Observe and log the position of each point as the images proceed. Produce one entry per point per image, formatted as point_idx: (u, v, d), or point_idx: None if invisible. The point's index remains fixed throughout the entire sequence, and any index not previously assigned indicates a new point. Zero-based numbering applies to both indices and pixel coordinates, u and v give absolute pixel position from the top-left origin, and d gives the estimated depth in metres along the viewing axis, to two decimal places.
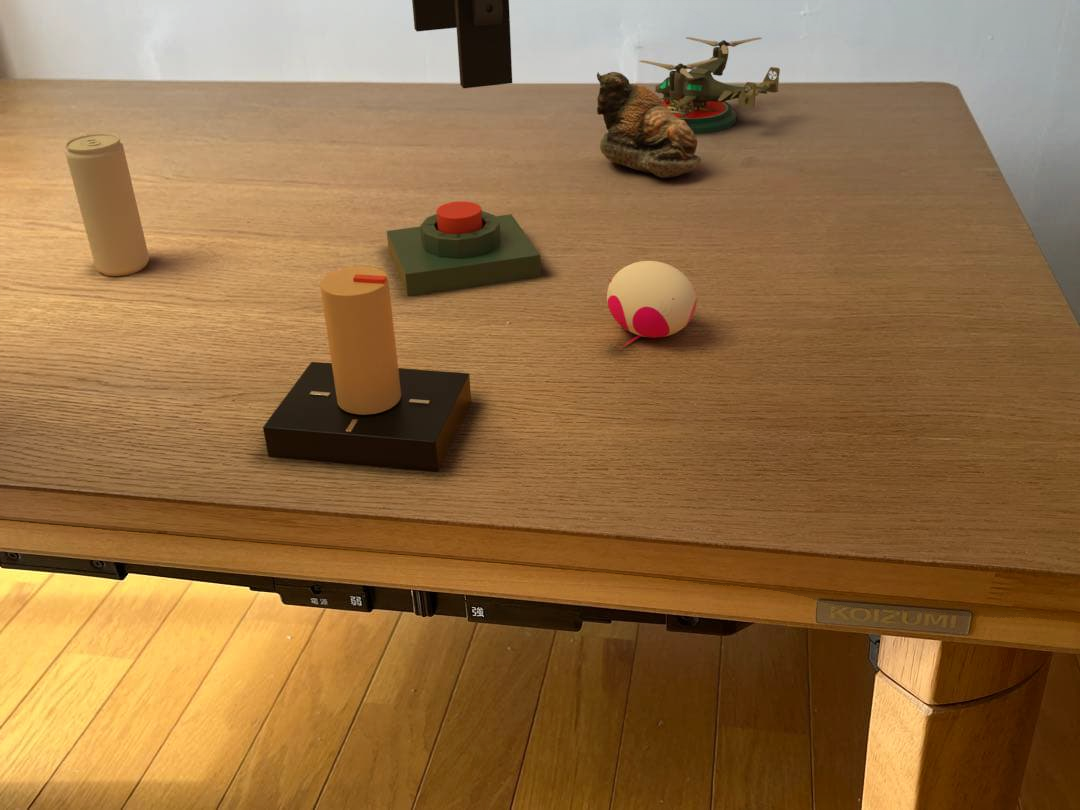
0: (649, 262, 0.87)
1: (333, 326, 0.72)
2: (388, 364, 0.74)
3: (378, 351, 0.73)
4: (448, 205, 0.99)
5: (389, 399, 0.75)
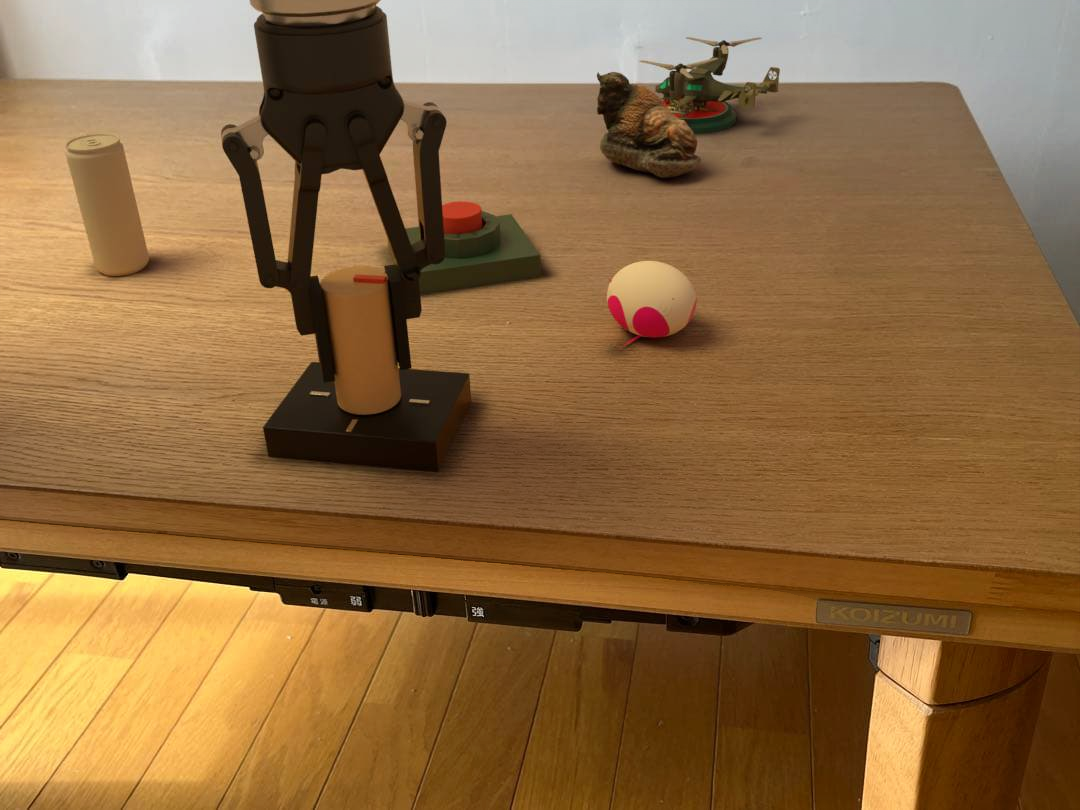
0: (649, 262, 0.87)
1: (333, 326, 0.72)
2: (388, 364, 0.74)
3: (378, 351, 0.73)
4: (448, 205, 0.99)
5: (389, 399, 0.75)
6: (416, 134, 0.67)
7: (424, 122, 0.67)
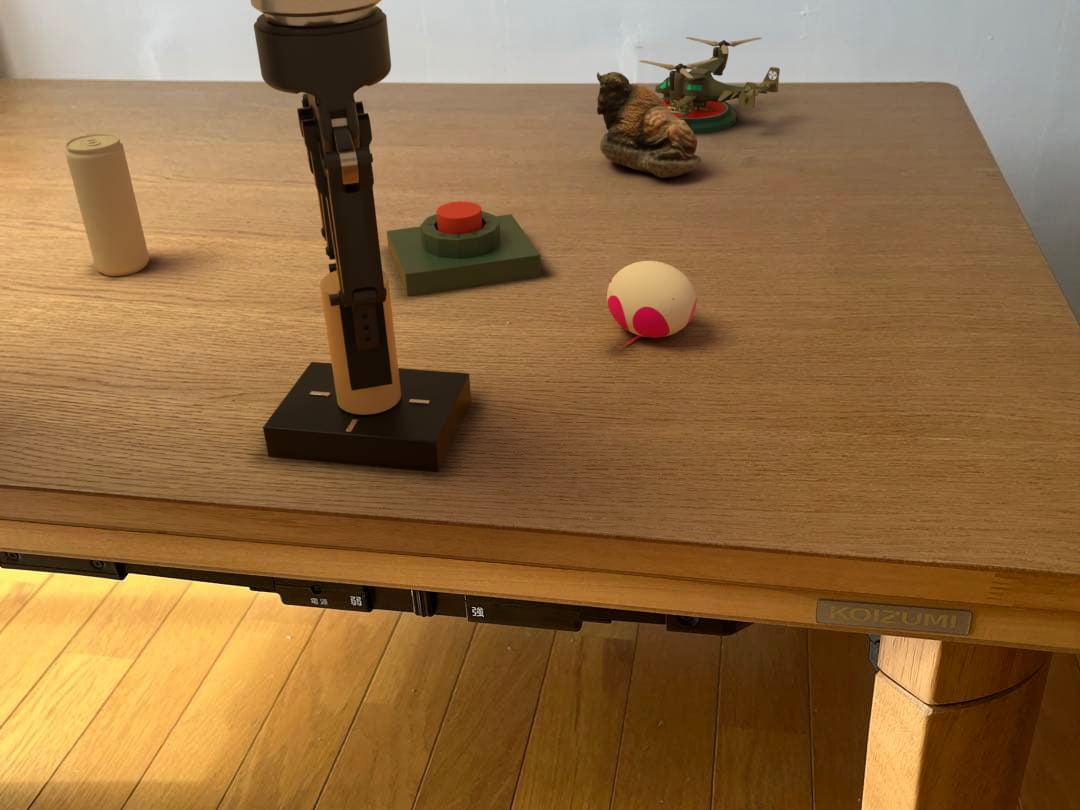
0: (649, 262, 0.87)
1: None
2: None
3: None
4: (448, 205, 0.99)
5: None
6: None
7: None
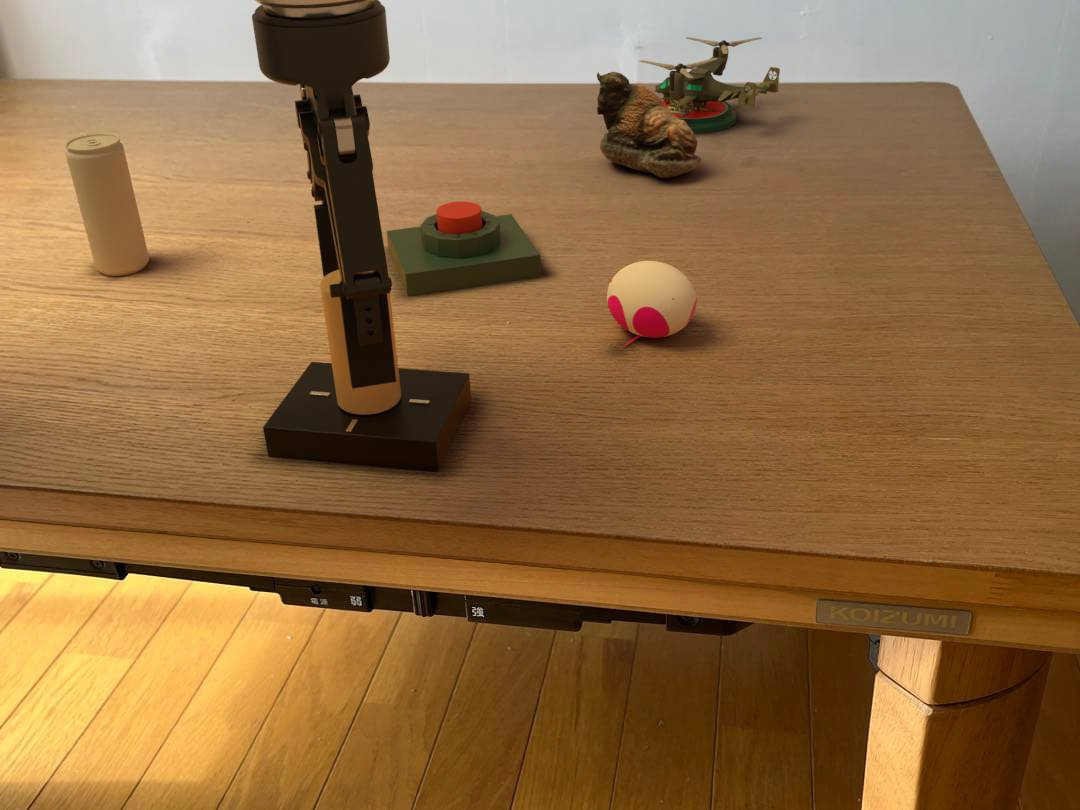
0: (649, 262, 0.87)
1: None
2: None
3: None
4: (448, 205, 0.99)
5: None
6: None
7: None
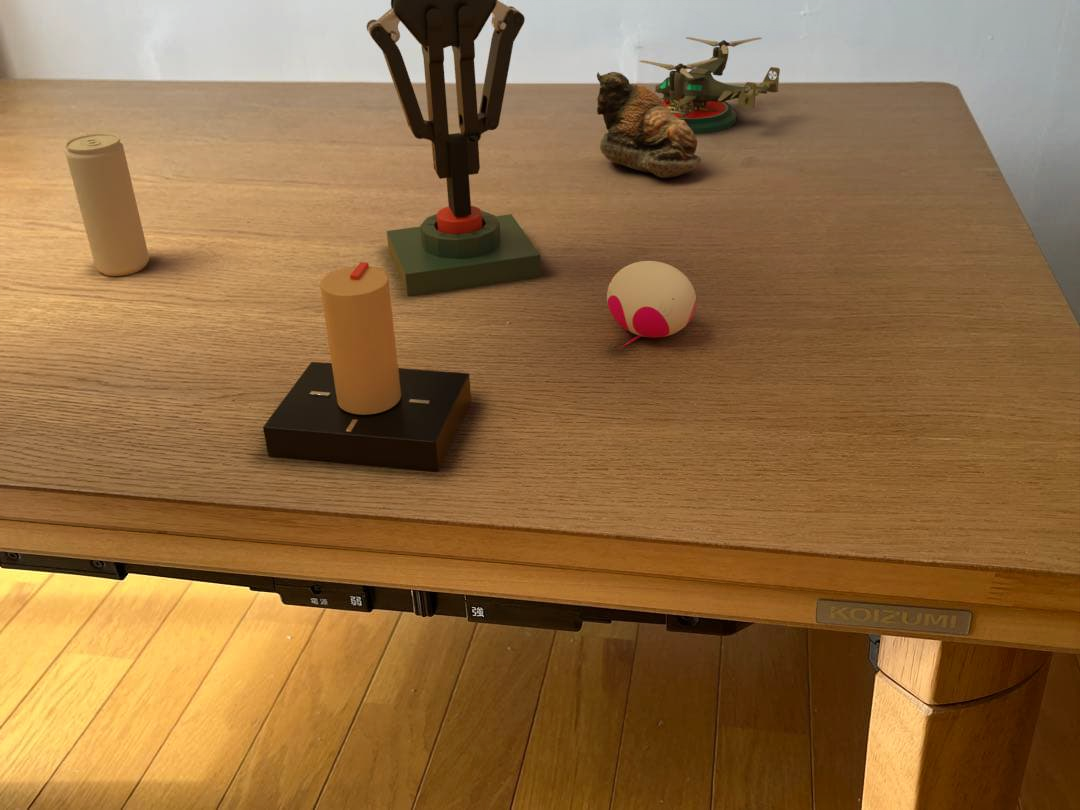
0: (649, 262, 0.87)
1: (381, 323, 0.72)
2: None
3: None
4: (449, 208, 0.99)
5: None
6: (501, 24, 0.90)
7: (508, 18, 0.90)
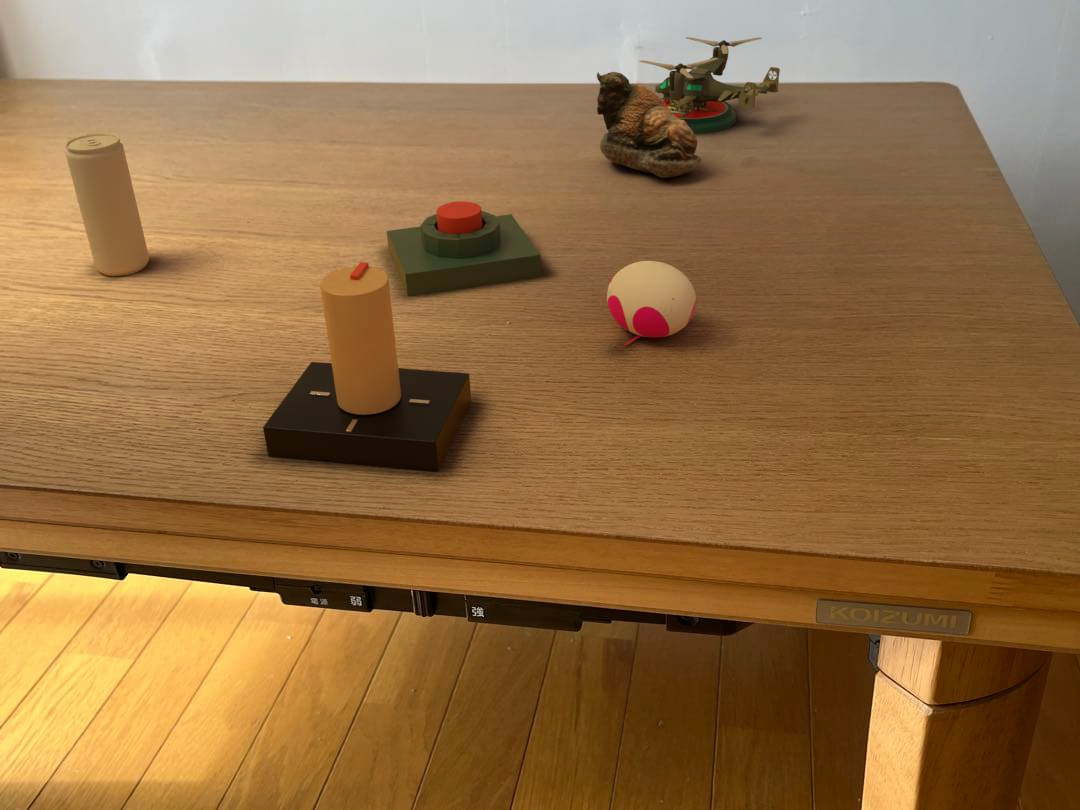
0: (649, 262, 0.87)
1: (381, 323, 0.72)
2: None
3: None
4: (448, 205, 0.99)
5: None
6: None
7: None
